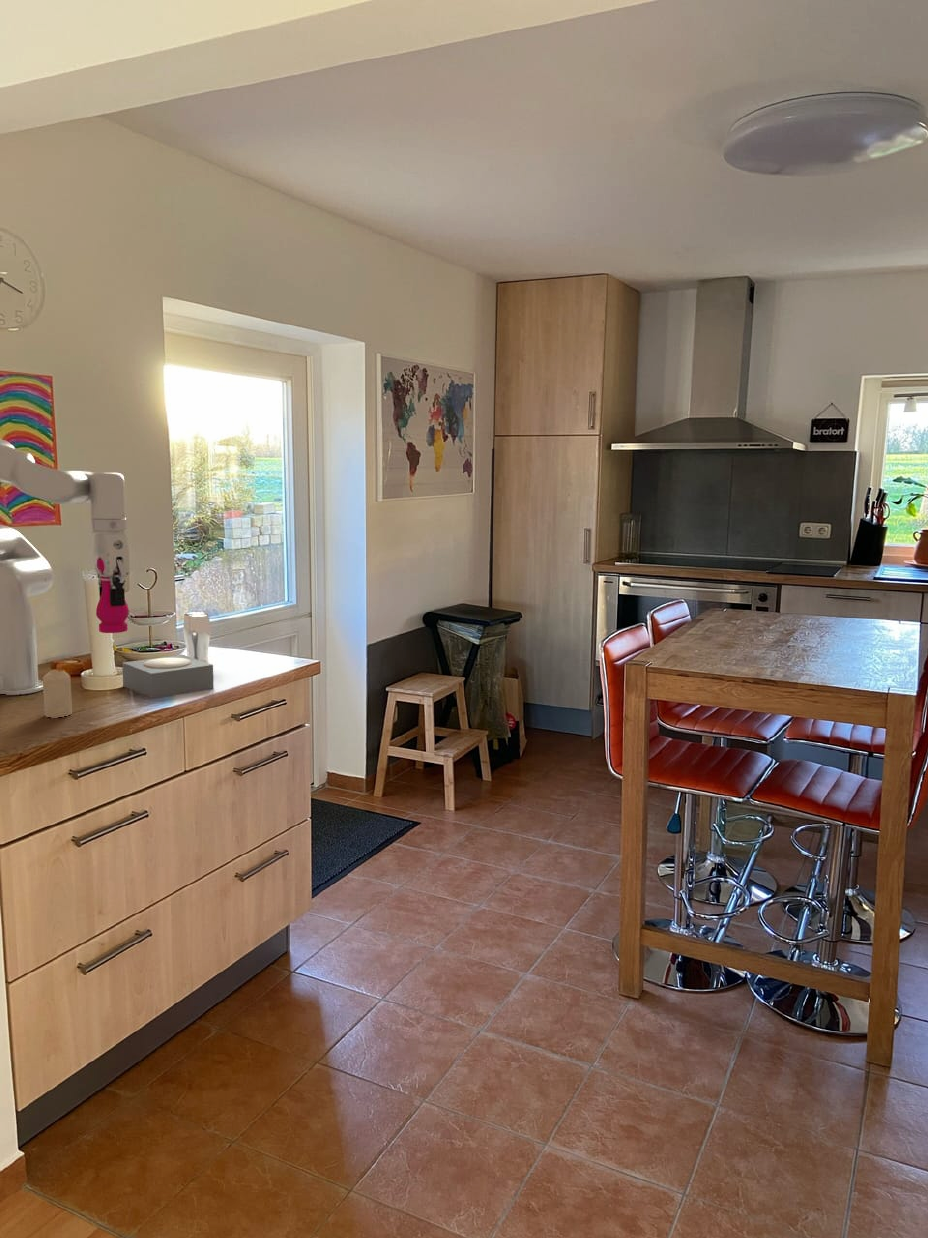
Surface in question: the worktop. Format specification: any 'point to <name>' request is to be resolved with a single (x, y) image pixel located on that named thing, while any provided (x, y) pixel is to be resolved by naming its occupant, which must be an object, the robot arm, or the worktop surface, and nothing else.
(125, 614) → the pepper mill
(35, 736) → the worktop surface
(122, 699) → the worktop surface
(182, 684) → the riser
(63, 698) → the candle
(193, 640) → the beer glass
